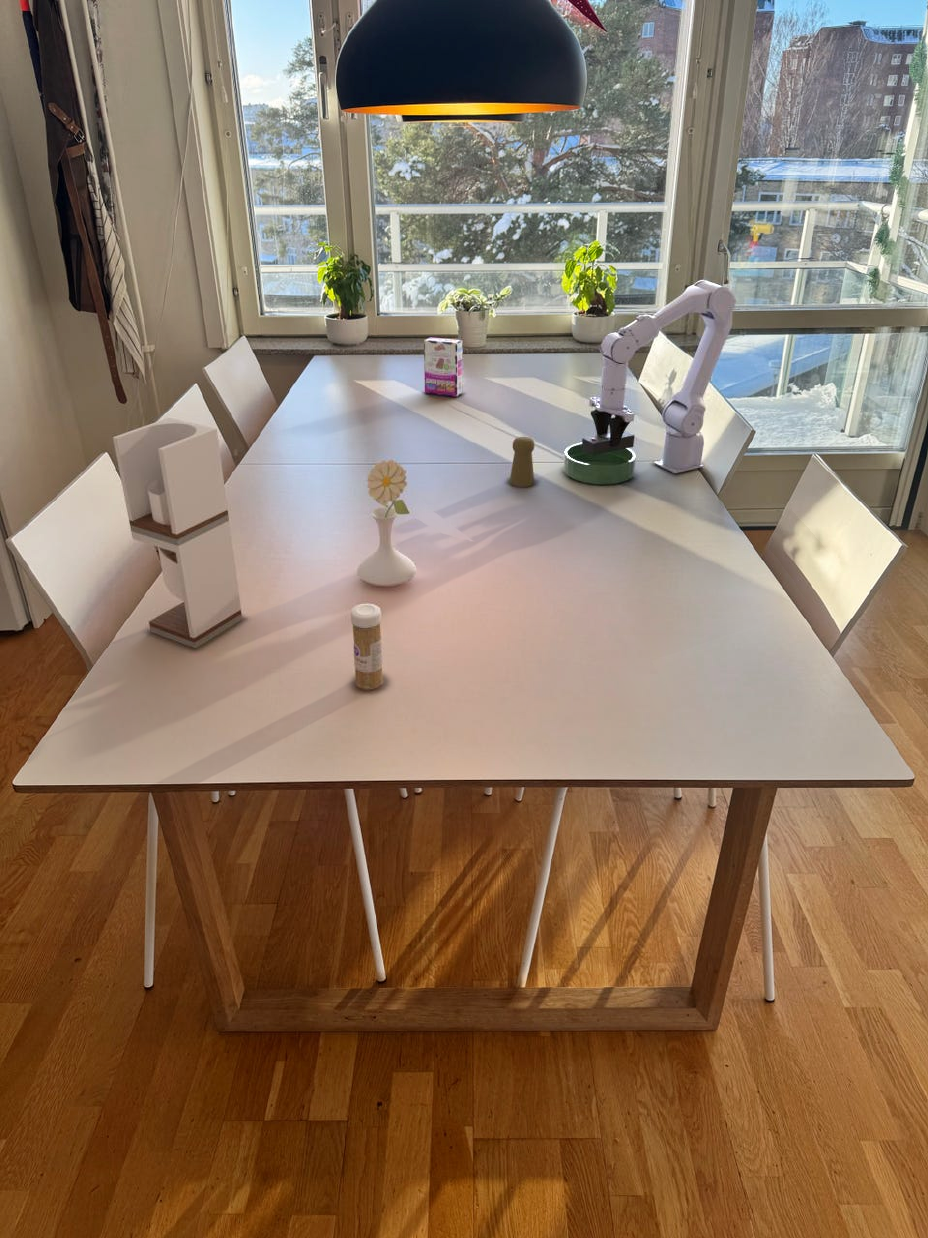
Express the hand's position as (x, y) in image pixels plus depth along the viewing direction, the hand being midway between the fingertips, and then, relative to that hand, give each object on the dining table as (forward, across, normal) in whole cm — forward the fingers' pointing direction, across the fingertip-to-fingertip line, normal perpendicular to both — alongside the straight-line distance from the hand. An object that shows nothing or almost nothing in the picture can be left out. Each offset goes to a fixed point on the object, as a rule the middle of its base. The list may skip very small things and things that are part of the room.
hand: (608, 442), depth 217 cm
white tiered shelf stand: (+9, +22, -108) cm, 110 cm away
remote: (+1, 0, 0) cm, 1 cm away
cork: (+9, -6, -20) cm, 23 cm away
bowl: (+8, -2, 0) cm, 9 cm away
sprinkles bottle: (+9, +53, -89) cm, 104 cm away
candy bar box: (+9, -80, -1) cm, 81 cm away
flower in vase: (+9, +23, -70) cm, 75 cm away
